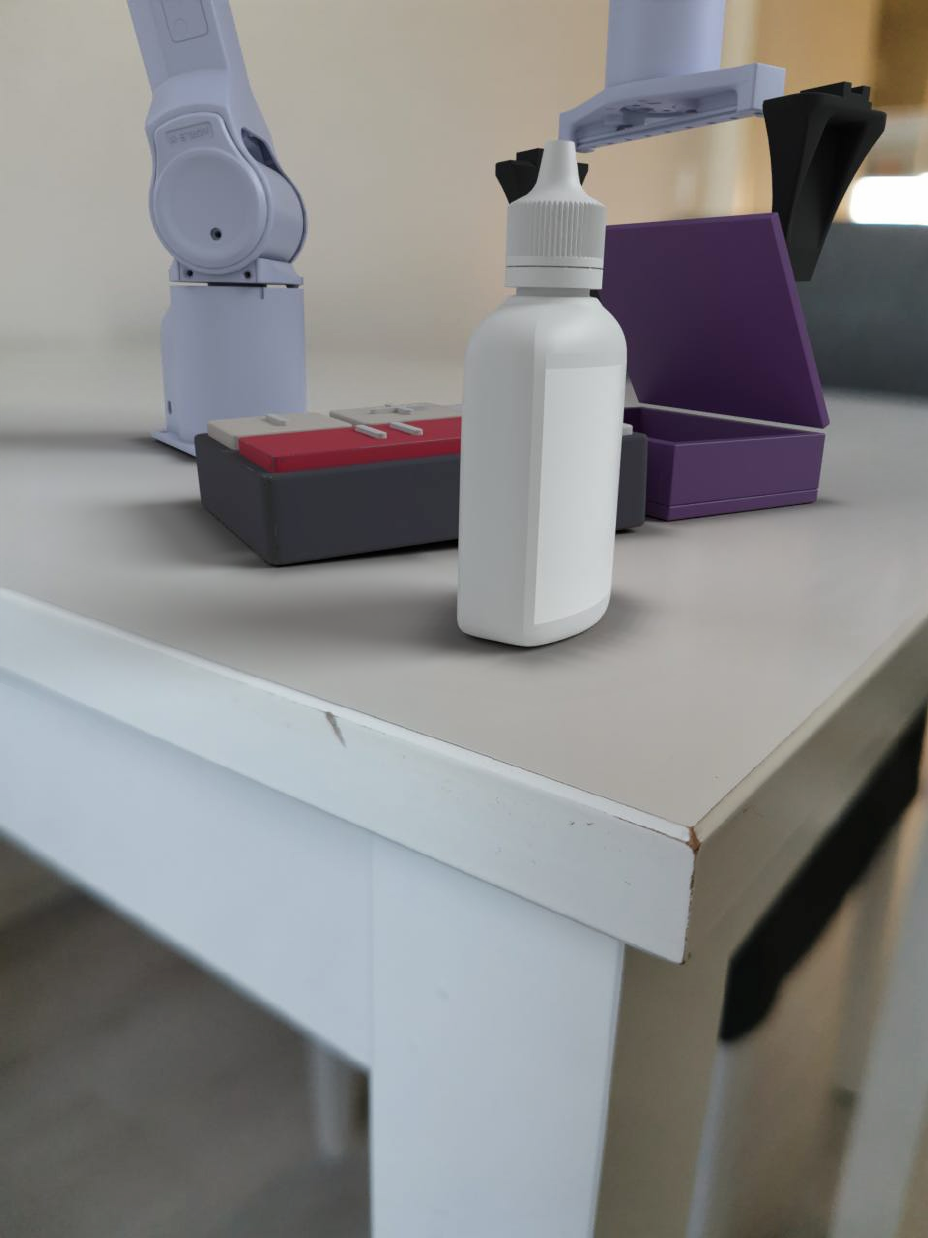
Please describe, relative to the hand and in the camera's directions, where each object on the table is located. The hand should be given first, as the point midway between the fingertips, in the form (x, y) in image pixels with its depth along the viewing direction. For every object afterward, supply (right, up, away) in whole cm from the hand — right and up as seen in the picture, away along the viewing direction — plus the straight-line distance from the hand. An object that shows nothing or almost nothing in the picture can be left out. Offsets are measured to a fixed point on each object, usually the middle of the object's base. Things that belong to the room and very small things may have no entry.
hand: (646, 284), depth 52 cm
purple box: (-1, -12, -5) cm, 13 cm away
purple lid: (+1, -4, -7) cm, 8 cm away
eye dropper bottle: (-8, -18, -25) cm, 32 cm away
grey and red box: (-12, -14, -13) cm, 22 cm away
